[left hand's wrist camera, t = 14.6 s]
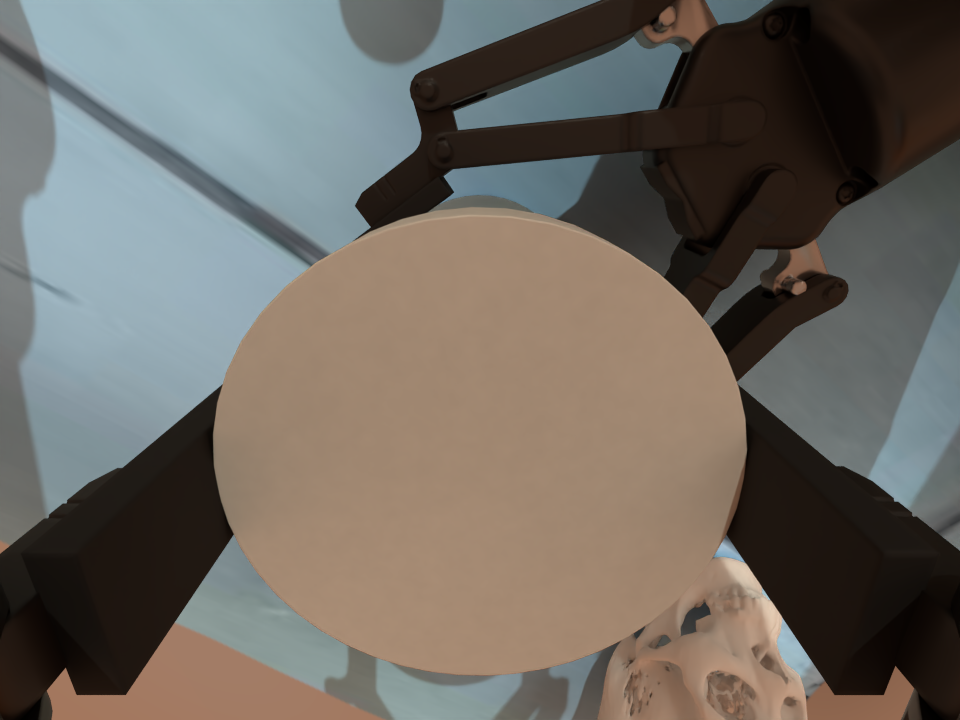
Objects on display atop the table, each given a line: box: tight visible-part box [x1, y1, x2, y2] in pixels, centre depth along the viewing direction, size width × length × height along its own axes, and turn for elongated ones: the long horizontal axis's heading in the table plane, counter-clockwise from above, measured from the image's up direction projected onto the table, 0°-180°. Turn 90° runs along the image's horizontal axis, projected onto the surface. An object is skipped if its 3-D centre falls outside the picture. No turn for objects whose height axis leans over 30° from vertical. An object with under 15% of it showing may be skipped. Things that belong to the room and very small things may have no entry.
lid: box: [213, 207, 747, 676], centre depth 11 cm, size 11×11×2 cm
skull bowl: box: [597, 557, 808, 720], centre depth 33 cm, size 10×14×12 cm
